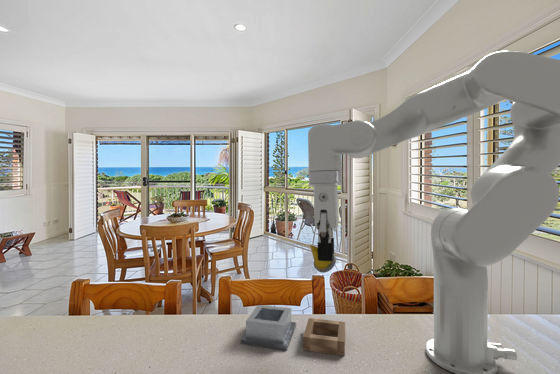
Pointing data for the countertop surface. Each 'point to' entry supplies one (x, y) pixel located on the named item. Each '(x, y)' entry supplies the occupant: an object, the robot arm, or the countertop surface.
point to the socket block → (324, 342)
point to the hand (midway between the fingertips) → (326, 256)
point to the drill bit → (322, 265)
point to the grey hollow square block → (269, 328)
